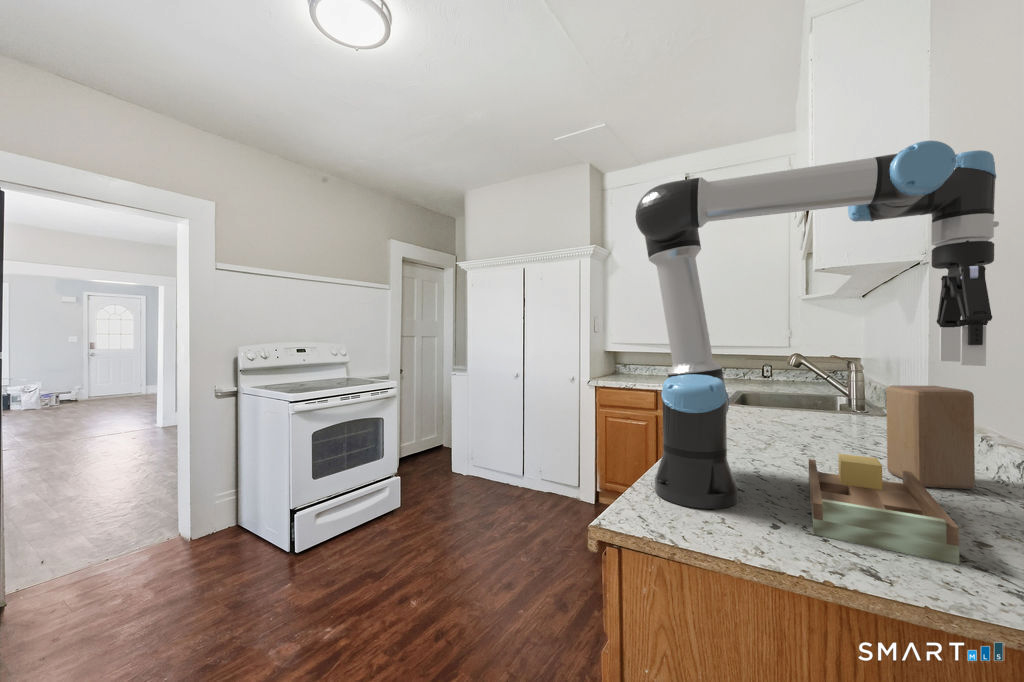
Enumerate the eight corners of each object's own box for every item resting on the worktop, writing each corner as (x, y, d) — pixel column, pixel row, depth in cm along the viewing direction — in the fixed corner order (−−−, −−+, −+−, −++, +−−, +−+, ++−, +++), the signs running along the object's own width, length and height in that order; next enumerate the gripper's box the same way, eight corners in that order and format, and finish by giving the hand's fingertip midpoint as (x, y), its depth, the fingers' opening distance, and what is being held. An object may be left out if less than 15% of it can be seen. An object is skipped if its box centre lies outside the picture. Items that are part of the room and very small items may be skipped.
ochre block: (841, 484, 80) (840, 460, 80) (838, 475, 85) (838, 453, 85) (882, 490, 76) (882, 465, 76) (877, 480, 81) (876, 458, 81)
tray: (813, 534, 65) (813, 499, 65) (808, 482, 88) (808, 456, 88) (959, 564, 56) (958, 524, 56) (911, 497, 79) (911, 469, 79)
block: (977, 491, 82) (976, 390, 82) (918, 488, 84) (917, 390, 84) (937, 474, 92) (936, 385, 92) (885, 472, 94) (883, 384, 94)
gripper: (1024, 225, 61) (1022, 368, 61) (970, 252, 81) (969, 360, 81) (951, 232, 65) (949, 366, 65) (917, 257, 85) (916, 359, 86)
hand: (960, 363), depth 73 cm, fingers open, 13 cm apart
